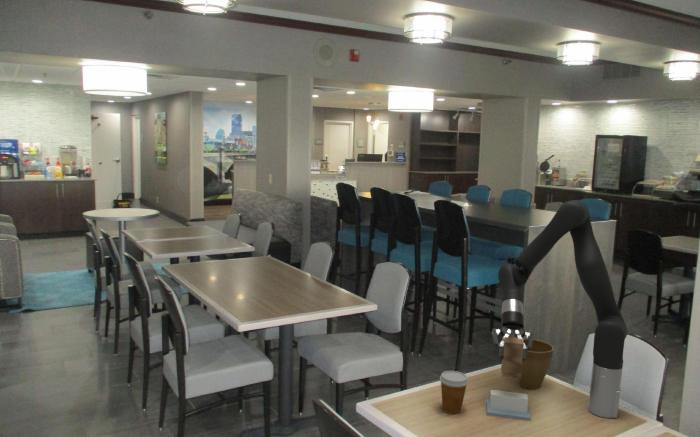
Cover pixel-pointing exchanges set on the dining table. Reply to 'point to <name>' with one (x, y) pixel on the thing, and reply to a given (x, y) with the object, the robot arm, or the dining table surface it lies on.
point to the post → (512, 357)
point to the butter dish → (508, 405)
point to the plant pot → (535, 364)
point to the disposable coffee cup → (453, 390)
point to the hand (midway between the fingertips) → (512, 359)
